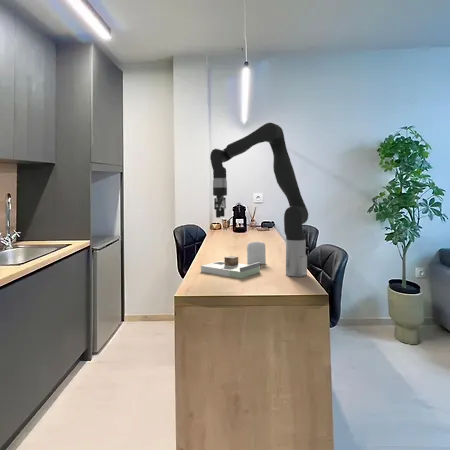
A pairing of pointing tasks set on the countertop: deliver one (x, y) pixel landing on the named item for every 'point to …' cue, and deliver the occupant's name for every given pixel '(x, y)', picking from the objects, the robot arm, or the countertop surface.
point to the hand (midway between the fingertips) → (220, 217)
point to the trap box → (231, 269)
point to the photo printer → (256, 253)
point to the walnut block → (231, 260)
